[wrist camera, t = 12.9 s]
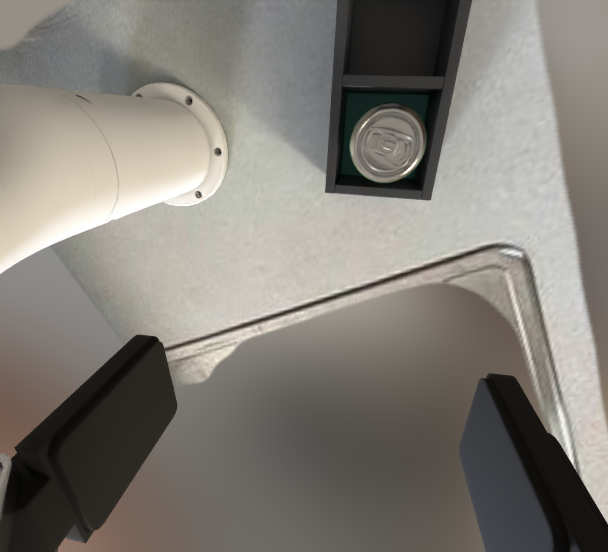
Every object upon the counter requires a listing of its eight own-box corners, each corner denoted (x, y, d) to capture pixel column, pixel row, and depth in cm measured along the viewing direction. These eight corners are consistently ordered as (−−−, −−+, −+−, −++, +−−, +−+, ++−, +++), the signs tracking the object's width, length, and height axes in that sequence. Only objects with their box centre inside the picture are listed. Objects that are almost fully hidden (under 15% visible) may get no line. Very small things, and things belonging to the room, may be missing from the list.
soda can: (394, 172, 33) (404, 197, 22) (347, 153, 33) (336, 168, 22) (419, 120, 30) (445, 119, 20) (369, 99, 30) (368, 87, 20)
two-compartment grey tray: (332, 180, 35) (325, 192, 29) (348, -32, 27) (342, -73, 22) (420, 186, 34) (430, 200, 28) (462, -35, 26) (488, -80, 20)
